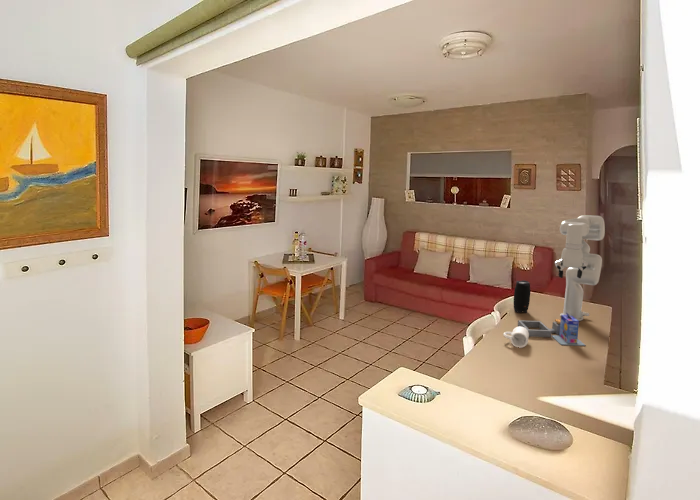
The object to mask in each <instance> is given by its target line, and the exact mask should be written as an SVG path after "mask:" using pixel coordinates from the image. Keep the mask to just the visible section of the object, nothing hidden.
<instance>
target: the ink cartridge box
mask: <svg viewBox="0 0 700 500" xmlns="http://www.w3.org/2000/svg"><path fill="white" fill-rule="evenodd" d="M566 314H567V315H561V317H560V319H561V323H560V334H558V336H560V337H561V338H562V339H563V340H564V341H565V342H566V343H575V344H577V340H578V339H579V328H580V327H579V324H580V321H578V320H577V319H576V318H574V317H573V316H572V315H569V314H568V313H566Z"/></svg>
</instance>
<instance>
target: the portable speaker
mask: <svg viewBox="0 0 700 500" xmlns="http://www.w3.org/2000/svg"><path fill="white" fill-rule="evenodd" d="M515 282H516V283H515V287H514V292H513V311H514V312H515V313H519V314H521V313H525V314H527V313H528V310H529V306H530V303H531V302H530V301H531V283H530V282H529V281H527V280H524V279H523V280H516V281H515Z"/></svg>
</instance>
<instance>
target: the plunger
mask: <svg viewBox="0 0 700 500" xmlns="http://www.w3.org/2000/svg"><path fill="white" fill-rule="evenodd" d="M554 322H557V324H558V325H560V323H561V318H560V319H559V318H557V319H555V320H554Z"/></svg>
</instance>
